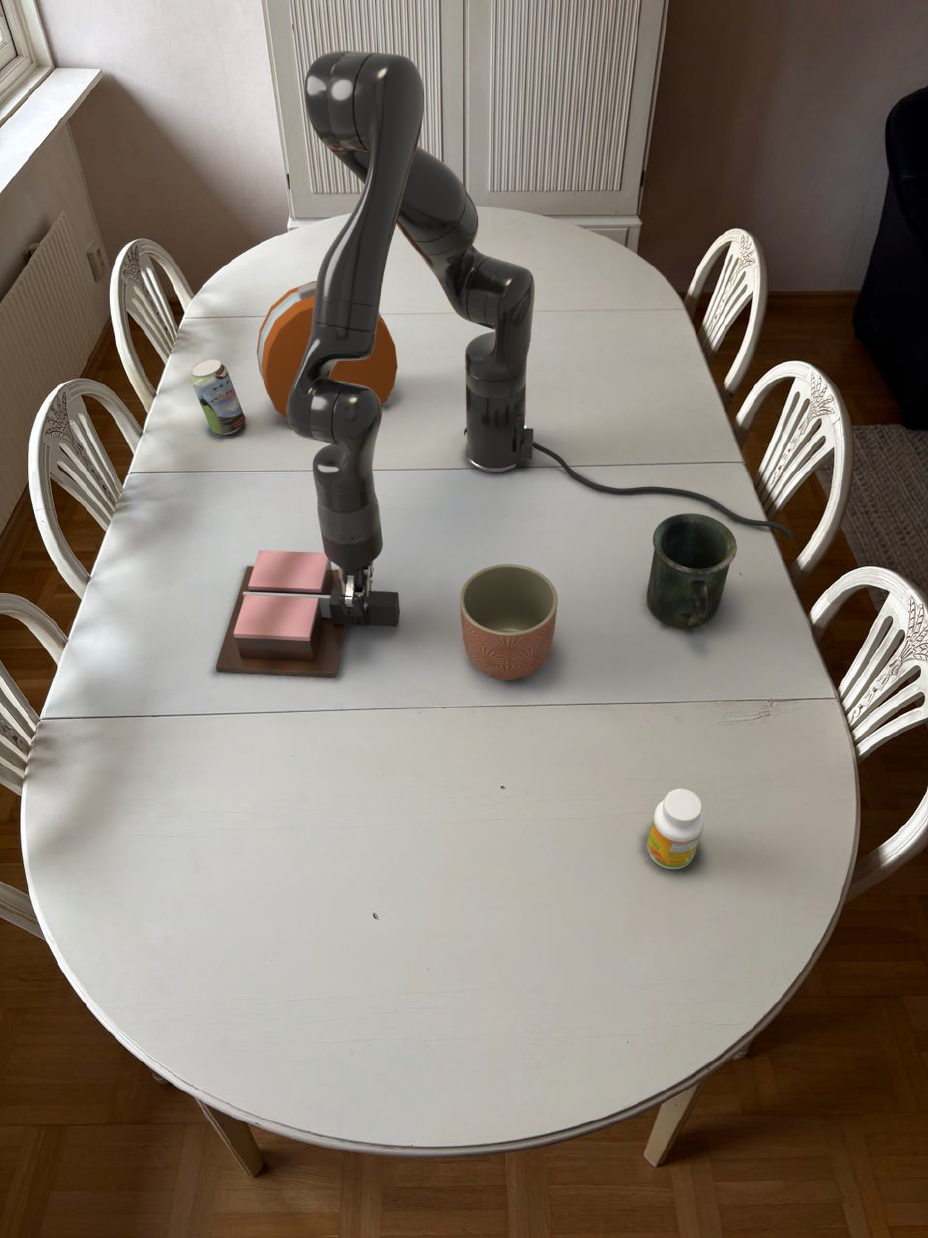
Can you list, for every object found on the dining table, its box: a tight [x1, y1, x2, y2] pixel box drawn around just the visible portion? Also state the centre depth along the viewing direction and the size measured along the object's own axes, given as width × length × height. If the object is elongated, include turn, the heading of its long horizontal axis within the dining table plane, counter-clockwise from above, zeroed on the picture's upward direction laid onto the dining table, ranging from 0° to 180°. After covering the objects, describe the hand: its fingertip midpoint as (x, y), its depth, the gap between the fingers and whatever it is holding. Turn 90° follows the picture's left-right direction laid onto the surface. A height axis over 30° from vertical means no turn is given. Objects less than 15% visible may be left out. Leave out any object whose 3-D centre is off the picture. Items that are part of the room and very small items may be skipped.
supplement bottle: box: [646, 788, 705, 870], centre depth 110 cm, size 5×5×10 cm
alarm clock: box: [256, 280, 398, 422], centre depth 164 cm, size 22×10×23 cm, turn 108°
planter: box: [459, 563, 559, 681], centre depth 130 cm, size 12×12×11 cm
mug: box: [645, 512, 738, 630], centre depth 134 cm, size 11×15×12 cm
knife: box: [243, 589, 401, 628], centre depth 136 cm, size 21×3×4 cm, turn 86°
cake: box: [215, 549, 347, 678], centre depth 136 cm, size 16×19×6 cm
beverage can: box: [190, 358, 246, 436], centre depth 164 cm, size 6×7×12 cm
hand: (363, 614), depth 136 cm, fingers closed on knife, 3 cm apart
